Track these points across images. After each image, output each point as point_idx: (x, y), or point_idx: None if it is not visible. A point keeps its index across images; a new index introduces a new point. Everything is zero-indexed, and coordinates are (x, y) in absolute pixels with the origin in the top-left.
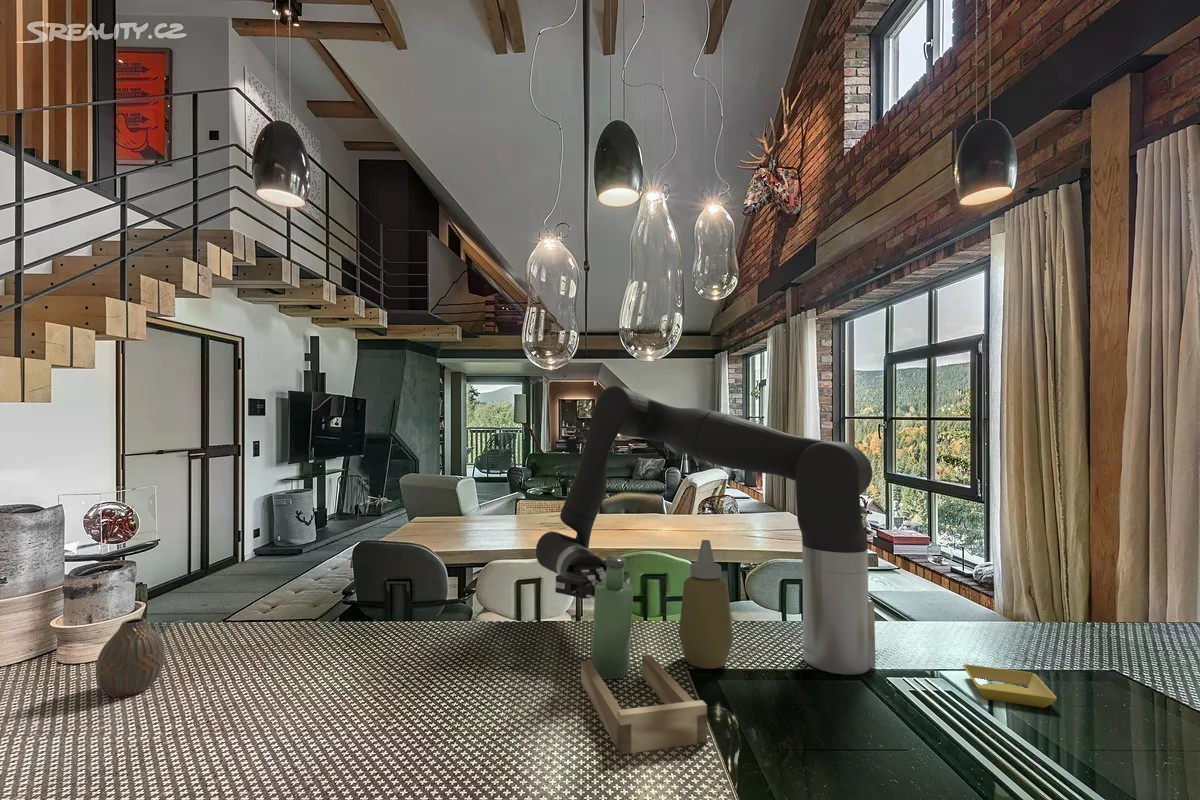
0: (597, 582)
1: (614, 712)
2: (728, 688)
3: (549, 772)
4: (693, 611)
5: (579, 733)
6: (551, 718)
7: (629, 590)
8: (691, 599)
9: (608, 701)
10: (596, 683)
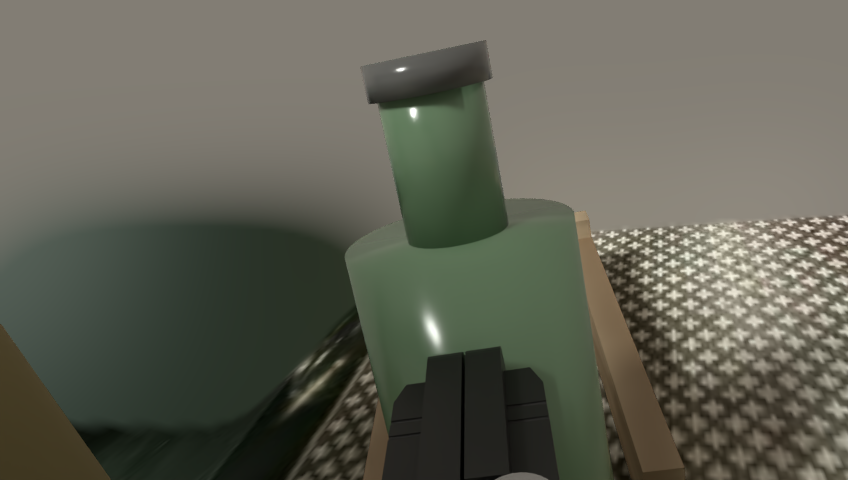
0: (502, 476)
1: (593, 250)
2: (193, 477)
3: (733, 244)
4: (68, 428)
5: (680, 319)
6: (770, 363)
7: (389, 230)
8: (38, 392)
9: (600, 276)
10: (625, 335)
